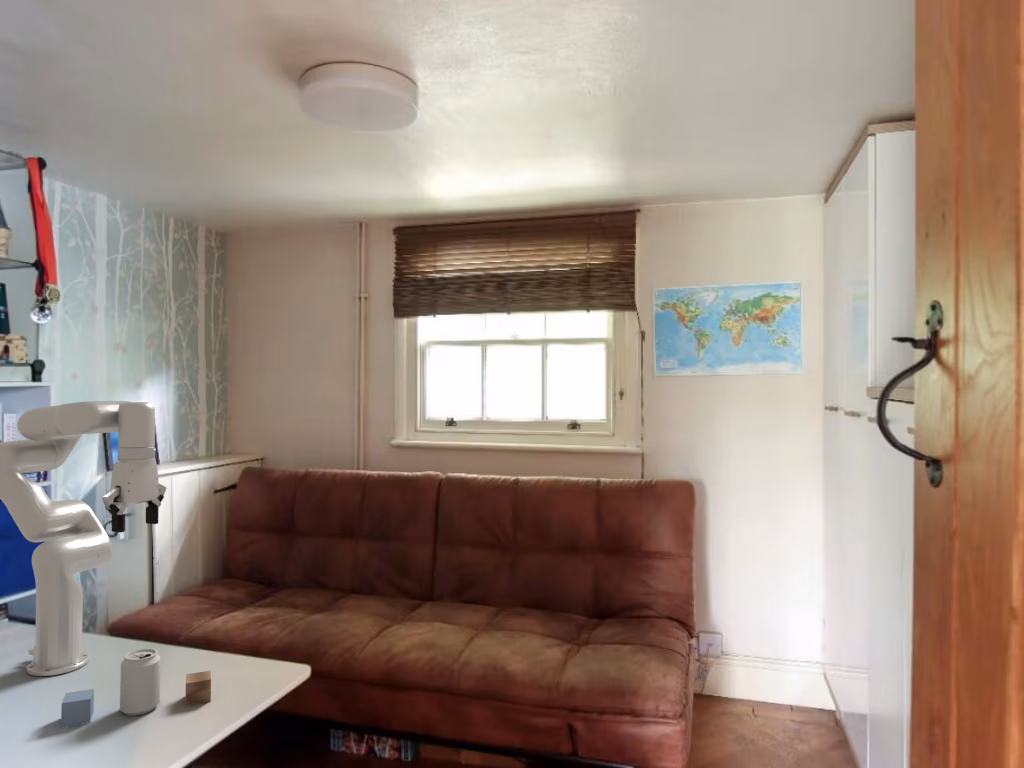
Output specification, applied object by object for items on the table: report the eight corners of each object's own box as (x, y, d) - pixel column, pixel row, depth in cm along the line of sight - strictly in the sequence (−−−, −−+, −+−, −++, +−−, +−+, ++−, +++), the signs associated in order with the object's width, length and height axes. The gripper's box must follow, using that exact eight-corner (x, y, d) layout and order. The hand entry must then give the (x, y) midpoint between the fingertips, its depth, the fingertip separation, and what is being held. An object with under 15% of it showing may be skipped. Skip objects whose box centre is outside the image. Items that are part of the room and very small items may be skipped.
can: (141, 719, 137) (143, 661, 137) (111, 715, 139) (112, 658, 139) (167, 702, 145) (168, 648, 145) (138, 699, 146) (139, 644, 146)
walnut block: (185, 706, 143) (185, 683, 143) (185, 696, 148) (186, 674, 148) (210, 702, 145) (211, 679, 145) (210, 692, 150) (210, 670, 150)
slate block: (61, 728, 133) (61, 703, 133) (65, 716, 138) (65, 693, 138) (90, 723, 136) (90, 698, 136) (93, 712, 140) (94, 688, 140)
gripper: (152, 451, 164) (151, 520, 163) (91, 457, 147) (90, 534, 147) (177, 451, 162) (176, 521, 161) (118, 458, 145) (117, 536, 145)
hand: (135, 527), depth 154 cm, fingers open, 9 cm apart
